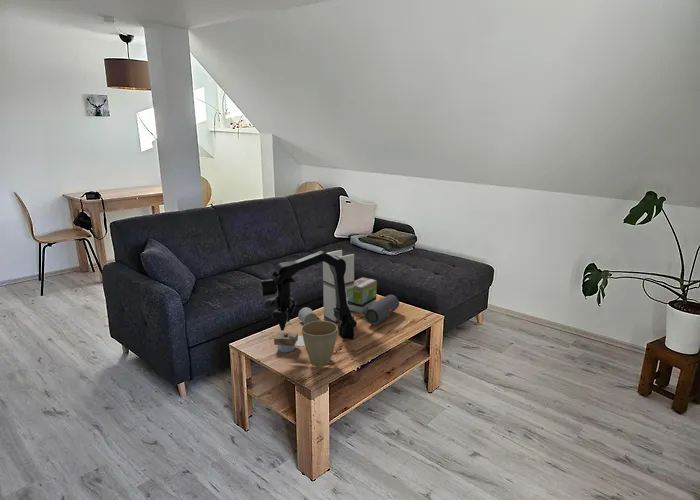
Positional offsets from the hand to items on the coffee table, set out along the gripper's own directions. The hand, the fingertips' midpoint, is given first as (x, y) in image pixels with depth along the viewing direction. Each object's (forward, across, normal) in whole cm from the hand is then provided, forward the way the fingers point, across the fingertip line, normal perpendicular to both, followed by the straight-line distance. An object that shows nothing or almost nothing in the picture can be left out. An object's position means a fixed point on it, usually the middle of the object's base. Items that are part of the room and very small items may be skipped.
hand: (285, 326), depth 206 cm
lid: (+8, 0, 0) cm, 8 cm away
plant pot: (+12, +9, +17) cm, 23 cm away
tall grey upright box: (+12, -36, +18) cm, 42 cm away
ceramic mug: (+12, -30, +5) cm, 33 cm away
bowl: (+12, 0, 0) cm, 12 cm away
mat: (+12, -8, +3) cm, 15 cm away
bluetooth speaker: (+12, -40, +40) cm, 58 cm away
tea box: (+12, -54, +28) cm, 62 cm away
